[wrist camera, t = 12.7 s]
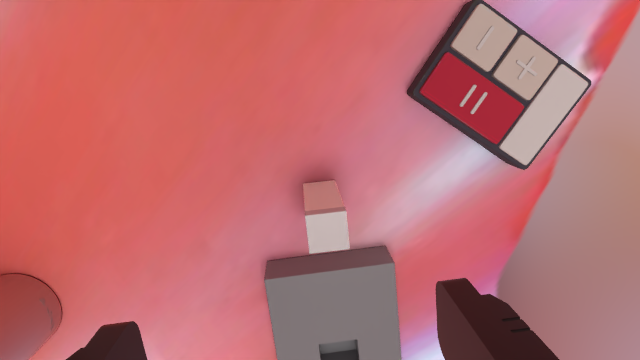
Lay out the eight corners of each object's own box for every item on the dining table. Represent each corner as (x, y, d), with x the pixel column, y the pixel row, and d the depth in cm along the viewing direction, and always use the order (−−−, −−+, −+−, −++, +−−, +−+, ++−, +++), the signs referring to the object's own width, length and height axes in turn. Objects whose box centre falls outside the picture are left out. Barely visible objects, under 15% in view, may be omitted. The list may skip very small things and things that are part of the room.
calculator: (480, -7, 38) (599, 82, 40) (463, 2, 42) (572, 82, 44) (412, 94, 40) (529, 173, 42) (403, 93, 44) (509, 165, 46)
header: (291, 413, 53) (291, 443, 48) (267, 260, 47) (264, 279, 43) (397, 398, 53) (406, 427, 49) (385, 245, 48) (394, 262, 43)
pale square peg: (306, 213, 46) (309, 253, 36) (302, 183, 45) (305, 215, 35) (337, 210, 46) (349, 248, 36) (334, 180, 45) (346, 210, 35)
